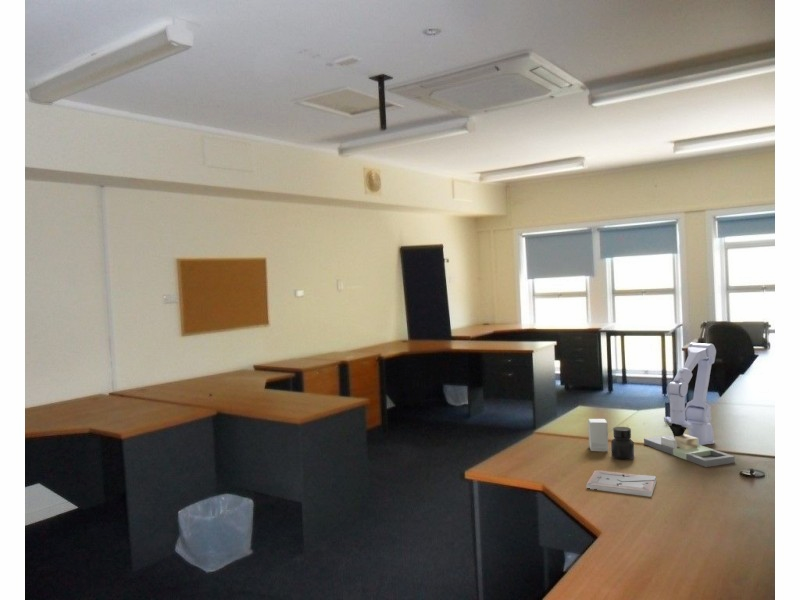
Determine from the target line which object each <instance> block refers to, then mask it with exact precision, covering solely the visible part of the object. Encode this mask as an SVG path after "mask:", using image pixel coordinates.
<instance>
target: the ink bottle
mask: <svg viewBox="0 0 800 600" xmlns="http://www.w3.org/2000/svg"><path fill="white" fill-rule="evenodd" d="M612 431H613V439H611V443H610V445H611V448H610V449H611V457H612V458H614V459H615V460H621V461H623V460H624V461H629V460H633V459H634V458H635V443H634V441H633V440H632V439H631V438H632V428H630V427H628V426H615V427H613V429H612Z"/></svg>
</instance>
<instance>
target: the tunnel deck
mask: <svg viewBox="0 0 800 600" xmlns="http://www.w3.org/2000/svg"><path fill="white" fill-rule="evenodd" d="M683 435H688V436H690V435H689V434H686V433H684V434H683ZM691 437H693V436H691ZM695 438H696V437H695ZM643 445H646V446H649V447H650V448H654V449H656V450H659V451H662V452H664V453H667V454H670V455H672V456H675V457H677V458H680V459H683V460H686V461H687V462H691V463H693V464H696V465H698V466H702V467H704V468H709V467H715V466H721V465H727V464H734V463H735V456H734V455H732V454H729V453H725V452H723V451H720V450H717V449H714V448H710V447H708V446H705V445H699V438H697V448H693V449H686V450H685V449H682V448H680V447H677V441H675V438H674V435H673V434H672V435H671V434H669V435H668V434H667V435H659V436H654V437H653V436H651V437H644V438H643Z"/></svg>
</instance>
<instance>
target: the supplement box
mask: <svg viewBox="0 0 800 600" xmlns="http://www.w3.org/2000/svg"><path fill="white" fill-rule="evenodd" d="M587 419H588V420H587V421H588V423H587V425H588V426H587V427H588V447H589V450H590V451H591V452H608V451H609V437H608V436H609V434H608V430H609V429H608V422H607V420H606V419H605V418H587Z"/></svg>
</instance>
